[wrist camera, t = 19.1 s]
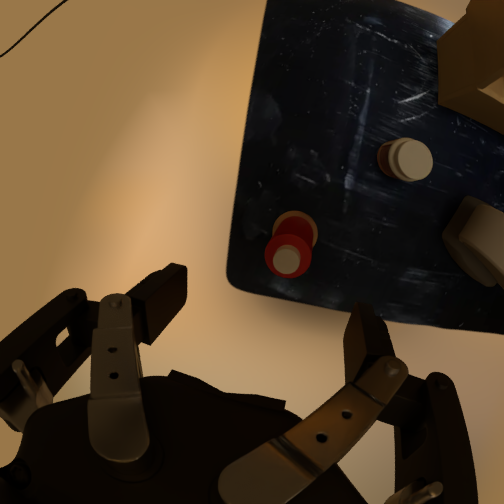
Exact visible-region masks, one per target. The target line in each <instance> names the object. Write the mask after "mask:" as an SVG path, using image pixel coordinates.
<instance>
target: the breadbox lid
mask: <svg viewBox="0 0 504 504" xmlns="http://www.w3.org/2000/svg"><path fill="white" fill-rule="evenodd" d="M466 13H467V18H468V22H469V27H470V33H471V39H472V46H473V54H474V63H475V76H476V87H478V88H480V89H484V88H485V87H487V86H488V85H490V84H492V83H493V82H495V81H496V80H498V79H499V78H501V77H502V76H504V0H470V2H469V4H468V6H467V8H466Z"/></svg>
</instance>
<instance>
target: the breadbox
mask: <svg viewBox="0 0 504 504" xmlns="http://www.w3.org/2000/svg"><path fill="white" fill-rule="evenodd" d="M436 42H437V55H438V104H439V105H442V106H444V107H447V108H449V109H452V110H454V111H456V112H459V113H461V114H463V115H465V116H467V117H470V118H472V119H474V120H476V121H478V122H480V123H482V124H484V125H486V126H488V127H490V128H492V129H494V130H495V131H497V132H499V133H501V134H503V135H504V76H502V77H501V78H499V79H498V80H496V81H495V82H493V83H492V84H490V85H488V86H487V87H485V88H484V89H480V88H478V87H476V76H475V63H474V54H473V46H472V39H471V33H470V27H469V22H468V18H467V13H466V14H465V15H464V16H463V17H462V18H461V19H460V20H458V22H456V23H455V24H454V25H453V26H452V27H451V28H450V29H449V30H448V31H447V32H446V33H445V34H444V35H442V36H441V37H440V38H439V39H438V40H437V41H436Z"/></svg>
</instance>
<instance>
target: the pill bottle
mask: <svg viewBox="0 0 504 504" xmlns="http://www.w3.org/2000/svg"><path fill="white" fill-rule="evenodd" d="M377 161H378V164H379V167H380V169H381V170H382V171H383V172H384V173H385V174H386V175H388V176H390V177H393V178H397V179H401V180H404V181H415V180H420V179H423V178H425V177H426V176H427V175H428V174H429V173H430V171H431V169H432V164H433V160H432V155H431V153H430V151H429V149H428V148H427V146H426V145H424V144H423V143H422V142H419V141H416V140H413V139H411V138H400V139H396V140H392V141H388V142H386V143H384V144H383V145H382V146H381V147H380V149H379V151H378V154H377Z"/></svg>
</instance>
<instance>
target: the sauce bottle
mask: <svg viewBox="0 0 504 504" xmlns="http://www.w3.org/2000/svg"><path fill="white" fill-rule="evenodd" d="M312 246H313V229H312V226H311V225H310V223H309V222H308V221H307V220H306V219H304V218H302V217H299V216H291V217H287V218H285V219H284V220H283V221H282V222H281V223H280V224H279V226H278V228H277V229H276V231H275V233H274V235H273V236H272V238H271V240H270V241H269V243H268V245H267V247H266V249H265V261H266V264H267V266H268V267H269V269H270V270H271V271H272V272H273V273H275V274H276V275H278V276H280V277H284V278H294V277H298V276H300V275H301V274H303V273H304V272H305V271H306V270H307V269H308V267H309V265H310V263H311V257H312Z"/></svg>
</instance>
